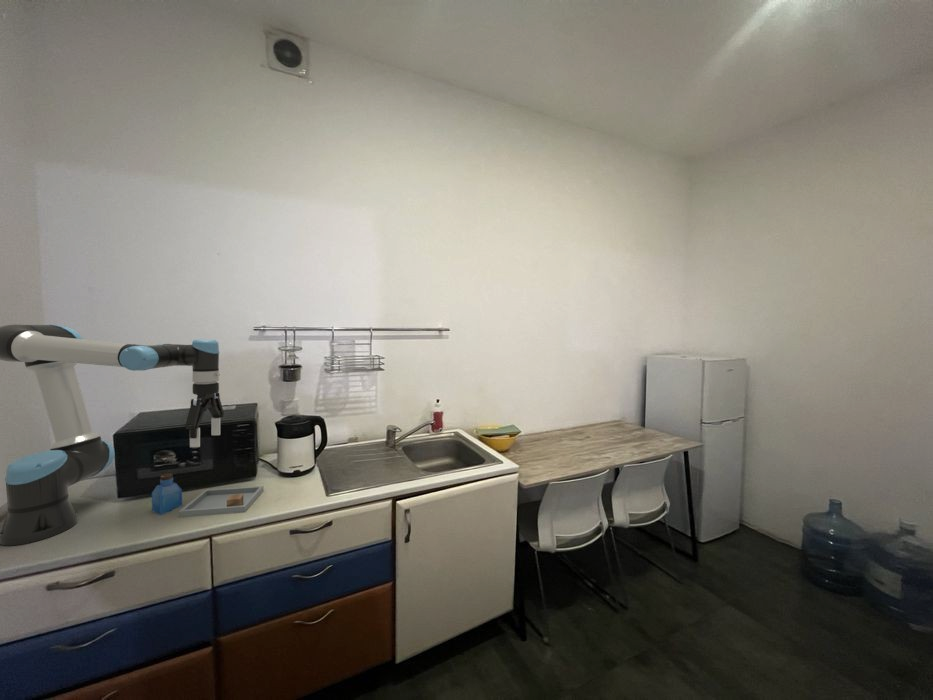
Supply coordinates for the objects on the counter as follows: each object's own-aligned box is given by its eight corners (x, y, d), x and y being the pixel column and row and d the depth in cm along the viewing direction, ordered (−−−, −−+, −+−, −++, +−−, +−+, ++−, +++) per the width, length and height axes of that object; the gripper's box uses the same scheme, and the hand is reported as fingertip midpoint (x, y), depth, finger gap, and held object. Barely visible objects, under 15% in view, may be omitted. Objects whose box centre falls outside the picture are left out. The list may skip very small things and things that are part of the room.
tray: (178, 518, 113) (178, 511, 113) (205, 496, 129) (205, 489, 129) (244, 513, 117) (244, 506, 117) (263, 492, 133) (263, 485, 133)
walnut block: (226, 511, 117) (226, 500, 117) (230, 506, 121) (230, 495, 120) (240, 509, 118) (240, 498, 118) (243, 504, 122) (243, 493, 122)
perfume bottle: (152, 510, 118) (151, 476, 118) (174, 502, 124) (173, 470, 123) (160, 515, 115) (159, 480, 115) (182, 506, 121) (181, 473, 120)
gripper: (197, 388, 111) (197, 452, 112) (234, 377, 135) (233, 430, 136) (171, 388, 109) (171, 453, 110) (212, 377, 134) (212, 431, 135)
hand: (206, 440), depth 123 cm, fingers open, 13 cm apart
